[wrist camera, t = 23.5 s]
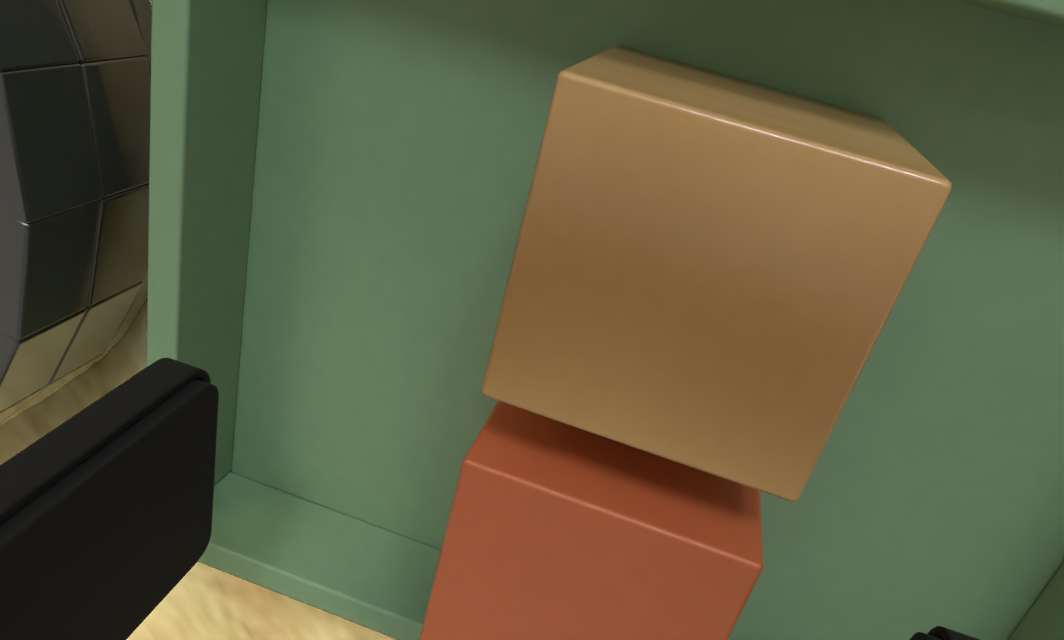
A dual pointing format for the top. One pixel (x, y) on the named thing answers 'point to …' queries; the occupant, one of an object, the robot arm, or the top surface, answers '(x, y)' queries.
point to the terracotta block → (589, 541)
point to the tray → (485, 261)
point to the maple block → (706, 265)
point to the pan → (70, 187)
